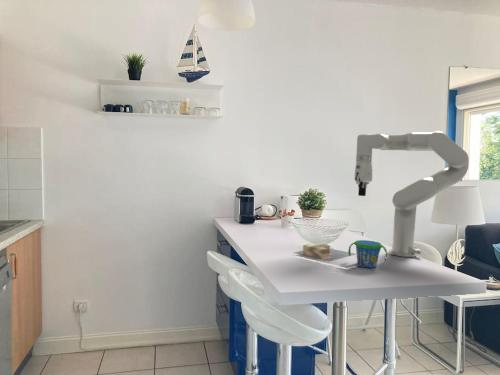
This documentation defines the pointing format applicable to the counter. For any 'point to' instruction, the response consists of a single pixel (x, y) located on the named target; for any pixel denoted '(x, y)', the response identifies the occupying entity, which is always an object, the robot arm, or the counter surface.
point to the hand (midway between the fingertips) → (361, 195)
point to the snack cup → (367, 252)
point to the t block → (317, 250)
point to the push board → (330, 255)
